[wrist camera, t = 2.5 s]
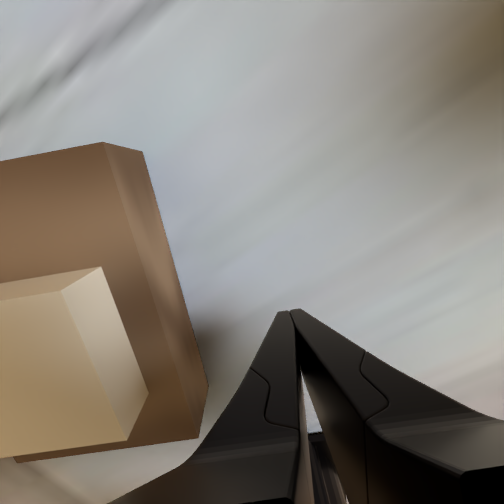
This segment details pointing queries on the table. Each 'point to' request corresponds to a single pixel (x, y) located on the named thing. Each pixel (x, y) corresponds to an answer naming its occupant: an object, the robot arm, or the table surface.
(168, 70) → the table surface
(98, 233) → the brown rectangular slab
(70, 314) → the block
